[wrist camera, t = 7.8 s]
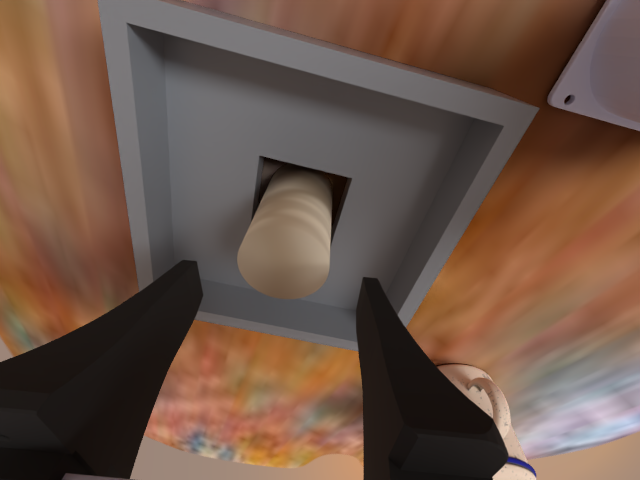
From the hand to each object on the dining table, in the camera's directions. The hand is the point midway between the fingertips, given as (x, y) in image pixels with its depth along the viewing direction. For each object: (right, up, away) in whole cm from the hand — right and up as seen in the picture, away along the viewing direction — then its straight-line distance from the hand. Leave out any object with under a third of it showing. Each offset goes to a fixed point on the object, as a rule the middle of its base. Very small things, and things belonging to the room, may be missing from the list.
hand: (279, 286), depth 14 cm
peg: (0, +5, +8) cm, 9 cm away
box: (0, +5, +8) cm, 9 cm away
